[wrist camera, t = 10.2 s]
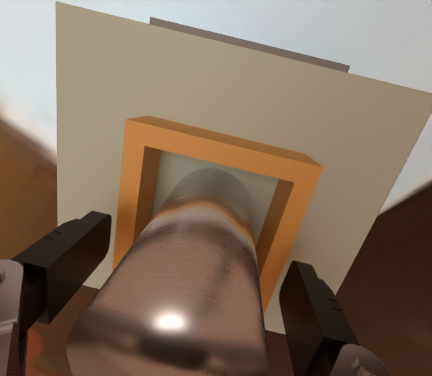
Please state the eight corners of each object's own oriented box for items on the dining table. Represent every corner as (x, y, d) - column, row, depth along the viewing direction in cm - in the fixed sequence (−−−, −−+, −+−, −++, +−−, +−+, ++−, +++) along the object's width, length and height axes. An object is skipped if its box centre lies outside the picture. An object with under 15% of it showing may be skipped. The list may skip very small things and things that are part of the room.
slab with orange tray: (373, 86, 18) (516, 71, 9) (291, 277, 25) (324, 384, 16) (120, 24, 18) (-2, -56, 9) (105, 232, 25) (25, 310, 16)
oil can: (179, 159, 14) (67, 267, 5) (260, 179, 14) (302, 325, 5) (161, 256, 17) (65, 450, 7) (230, 273, 17) (221, 489, 7)
